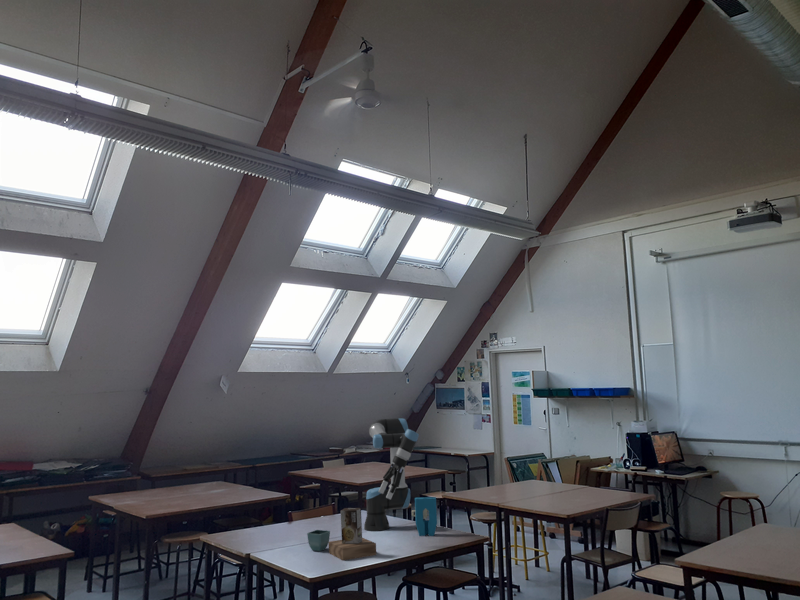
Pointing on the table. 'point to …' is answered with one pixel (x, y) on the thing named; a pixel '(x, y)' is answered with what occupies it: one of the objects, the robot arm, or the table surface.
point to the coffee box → (351, 525)
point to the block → (429, 525)
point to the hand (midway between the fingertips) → (384, 495)
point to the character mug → (423, 514)
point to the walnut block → (352, 549)
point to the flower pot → (318, 539)
